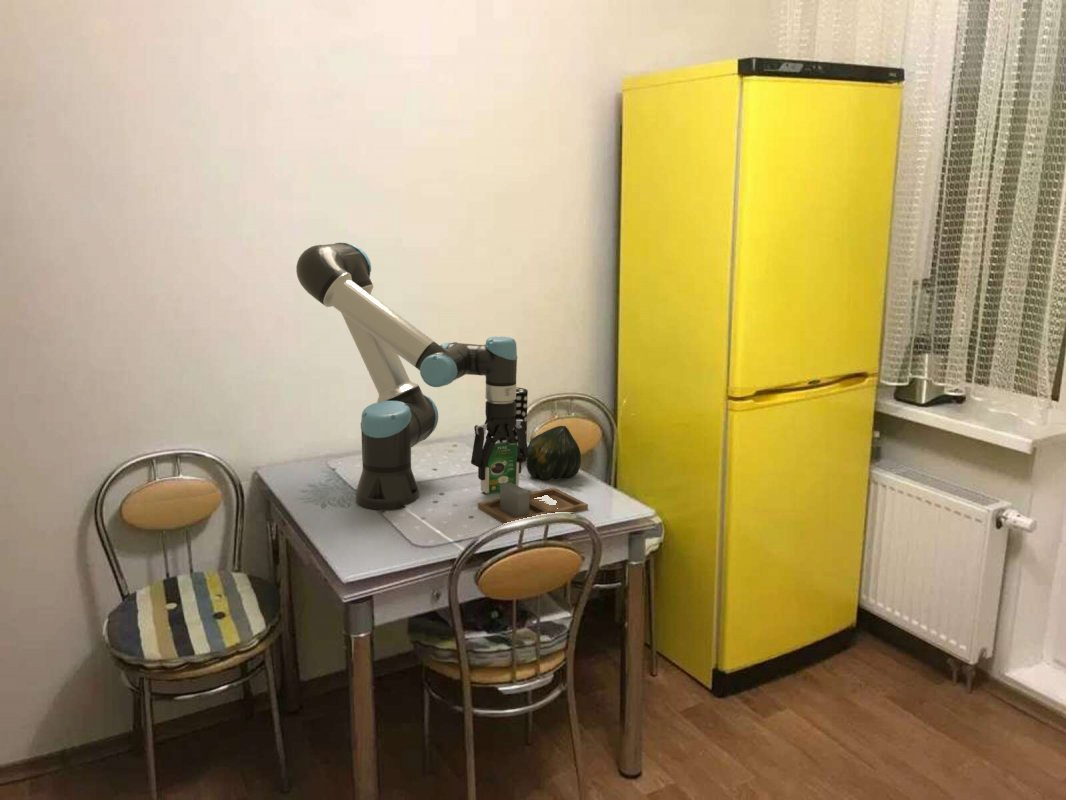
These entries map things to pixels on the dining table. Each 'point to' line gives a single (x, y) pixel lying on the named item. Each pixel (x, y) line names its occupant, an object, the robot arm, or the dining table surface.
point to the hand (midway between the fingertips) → (499, 488)
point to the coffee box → (502, 465)
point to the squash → (553, 455)
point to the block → (514, 500)
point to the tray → (536, 505)
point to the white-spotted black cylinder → (519, 412)
